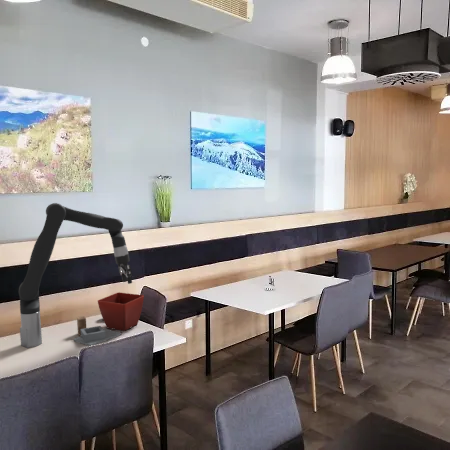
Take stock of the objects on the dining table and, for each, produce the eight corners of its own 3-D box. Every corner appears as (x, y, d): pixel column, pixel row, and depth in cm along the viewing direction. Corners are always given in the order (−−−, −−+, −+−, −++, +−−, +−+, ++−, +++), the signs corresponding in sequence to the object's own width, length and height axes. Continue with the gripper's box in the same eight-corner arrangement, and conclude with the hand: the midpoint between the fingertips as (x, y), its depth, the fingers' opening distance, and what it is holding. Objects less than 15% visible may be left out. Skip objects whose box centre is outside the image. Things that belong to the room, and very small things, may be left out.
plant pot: (125, 333, 246) (124, 303, 244) (98, 329, 254) (96, 300, 252) (145, 323, 263) (144, 295, 261) (119, 319, 271) (118, 292, 269)
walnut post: (79, 335, 244) (78, 319, 243) (77, 333, 248) (76, 317, 247) (86, 334, 246) (85, 318, 245) (85, 332, 250) (84, 316, 249)
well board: (90, 346, 228) (89, 336, 228) (73, 340, 237) (73, 331, 236) (121, 334, 244) (120, 325, 244) (104, 329, 253) (103, 321, 252)
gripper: (110, 255, 252) (117, 282, 254) (119, 256, 240) (125, 286, 242) (123, 251, 256) (129, 279, 258) (132, 253, 244) (138, 282, 246)
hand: (127, 282), depth 250 cm, fingers open, 8 cm apart
